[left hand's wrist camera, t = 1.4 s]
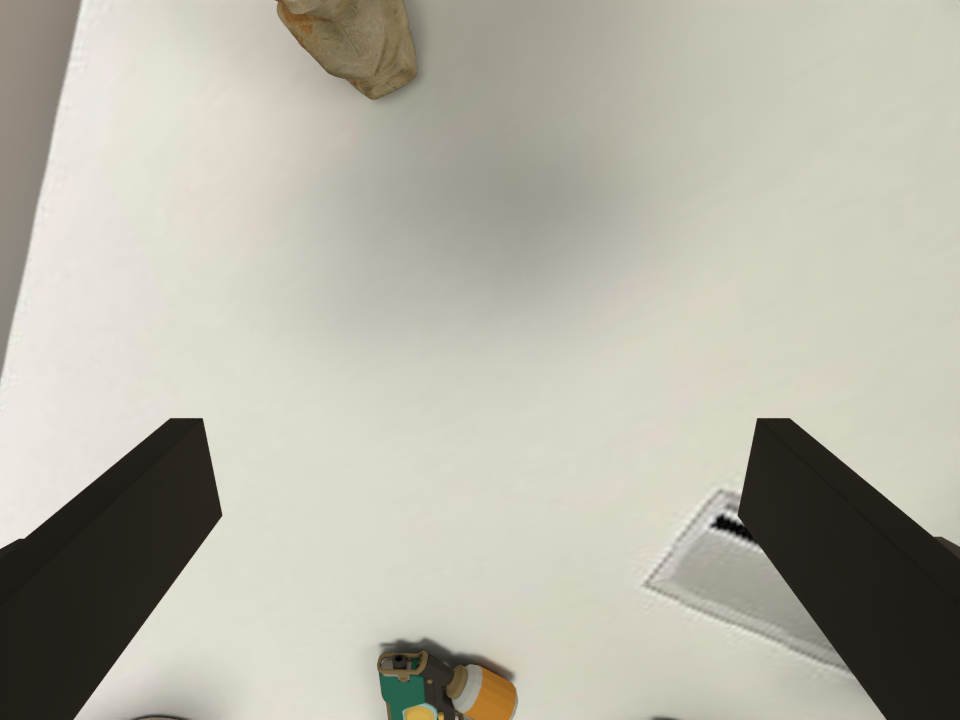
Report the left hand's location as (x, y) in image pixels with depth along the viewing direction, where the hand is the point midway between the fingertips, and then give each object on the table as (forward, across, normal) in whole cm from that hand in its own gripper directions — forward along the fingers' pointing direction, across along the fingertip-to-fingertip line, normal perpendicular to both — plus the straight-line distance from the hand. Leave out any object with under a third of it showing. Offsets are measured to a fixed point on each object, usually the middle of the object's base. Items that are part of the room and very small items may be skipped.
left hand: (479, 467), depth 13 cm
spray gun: (+27, -4, -44) cm, 52 cm away
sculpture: (+27, -7, +14) cm, 31 cm away
